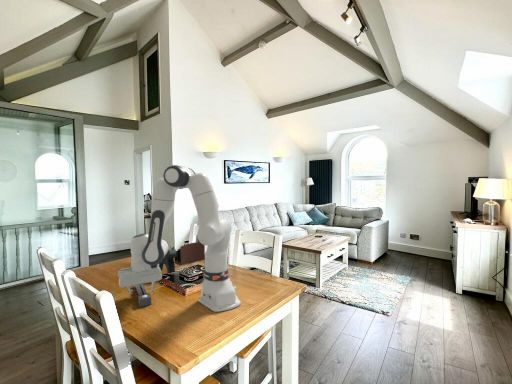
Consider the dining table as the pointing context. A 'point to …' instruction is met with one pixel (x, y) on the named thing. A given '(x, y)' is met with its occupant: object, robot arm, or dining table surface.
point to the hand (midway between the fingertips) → (141, 291)
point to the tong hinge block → (144, 300)
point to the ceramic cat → (169, 260)
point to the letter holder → (190, 253)
